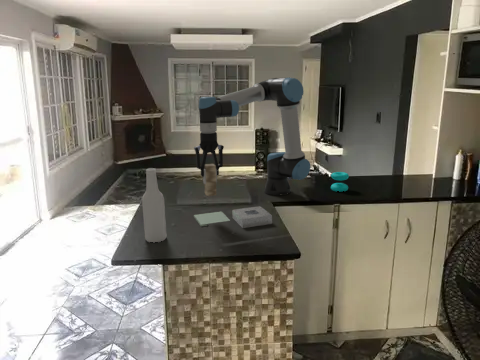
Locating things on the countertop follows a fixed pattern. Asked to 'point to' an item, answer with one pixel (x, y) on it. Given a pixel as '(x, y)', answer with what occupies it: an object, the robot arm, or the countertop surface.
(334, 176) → the donuts
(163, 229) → the alcohol
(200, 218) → the pad
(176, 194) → the countertop surface
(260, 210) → the hole block
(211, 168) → the square peg
